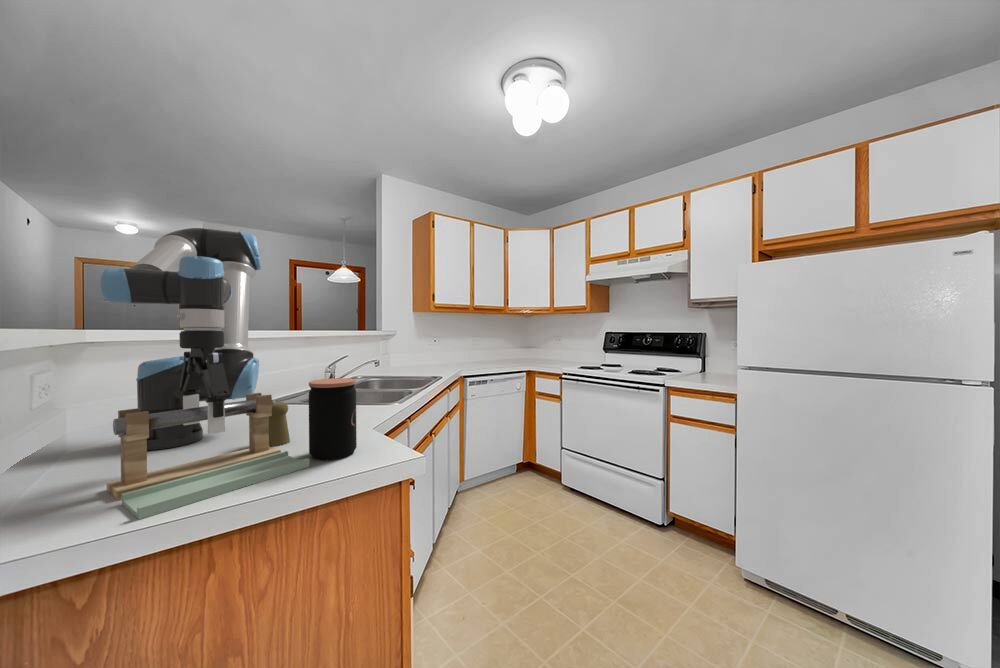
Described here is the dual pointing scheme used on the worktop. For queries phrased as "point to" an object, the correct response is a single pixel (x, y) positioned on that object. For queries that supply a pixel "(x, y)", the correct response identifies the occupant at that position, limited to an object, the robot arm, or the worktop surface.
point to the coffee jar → (332, 418)
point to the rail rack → (136, 463)
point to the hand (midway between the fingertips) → (203, 428)
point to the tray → (208, 484)
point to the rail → (187, 415)
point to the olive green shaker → (278, 425)
